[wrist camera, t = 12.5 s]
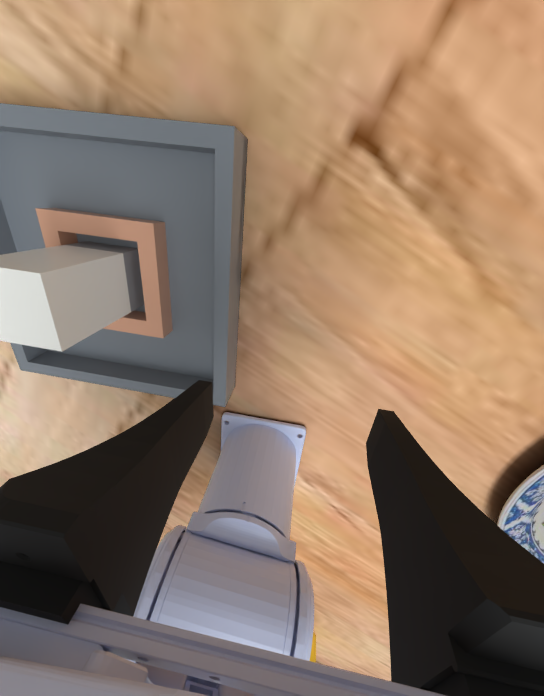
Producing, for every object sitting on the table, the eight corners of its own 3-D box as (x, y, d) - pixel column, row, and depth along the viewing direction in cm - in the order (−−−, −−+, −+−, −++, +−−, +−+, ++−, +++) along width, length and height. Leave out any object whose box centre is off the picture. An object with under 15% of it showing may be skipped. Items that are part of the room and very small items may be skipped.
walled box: (235, 385, 25) (225, 407, 22) (50, 353, 26) (20, 370, 24) (247, 138, 16) (234, 126, 14) (-25, 111, 18) (-85, 94, 15)
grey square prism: (146, 303, 21) (62, 351, 14) (97, 295, 22) (-9, 339, 15) (140, 248, 19) (40, 273, 12) (87, 241, 20) (-41, 261, 13)
